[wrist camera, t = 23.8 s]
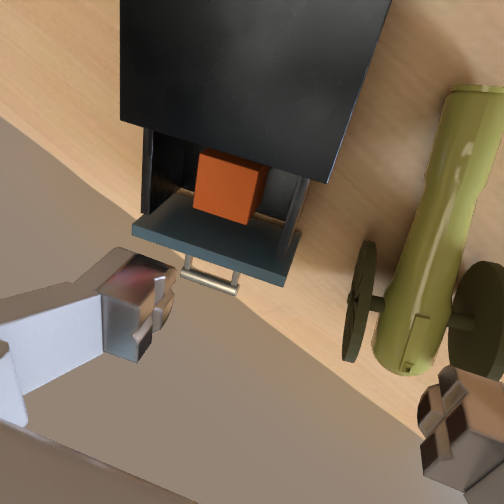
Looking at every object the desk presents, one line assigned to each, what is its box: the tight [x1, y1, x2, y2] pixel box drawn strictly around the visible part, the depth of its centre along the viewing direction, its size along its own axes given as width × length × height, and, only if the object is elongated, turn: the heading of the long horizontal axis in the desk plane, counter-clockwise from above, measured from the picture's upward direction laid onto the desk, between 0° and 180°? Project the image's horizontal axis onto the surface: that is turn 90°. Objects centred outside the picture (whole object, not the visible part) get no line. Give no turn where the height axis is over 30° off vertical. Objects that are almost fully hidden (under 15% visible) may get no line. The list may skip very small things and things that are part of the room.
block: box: [193, 148, 270, 225], centre depth 32 cm, size 5×5×5 cm
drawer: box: [132, 128, 312, 296], centre depth 33 cm, size 19×14×8 cm
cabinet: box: [120, 0, 392, 184], centre depth 26 cm, size 15×16×10 cm
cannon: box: [342, 85, 504, 381], centre depth 30 cm, size 25×12×11 cm, turn 177°
